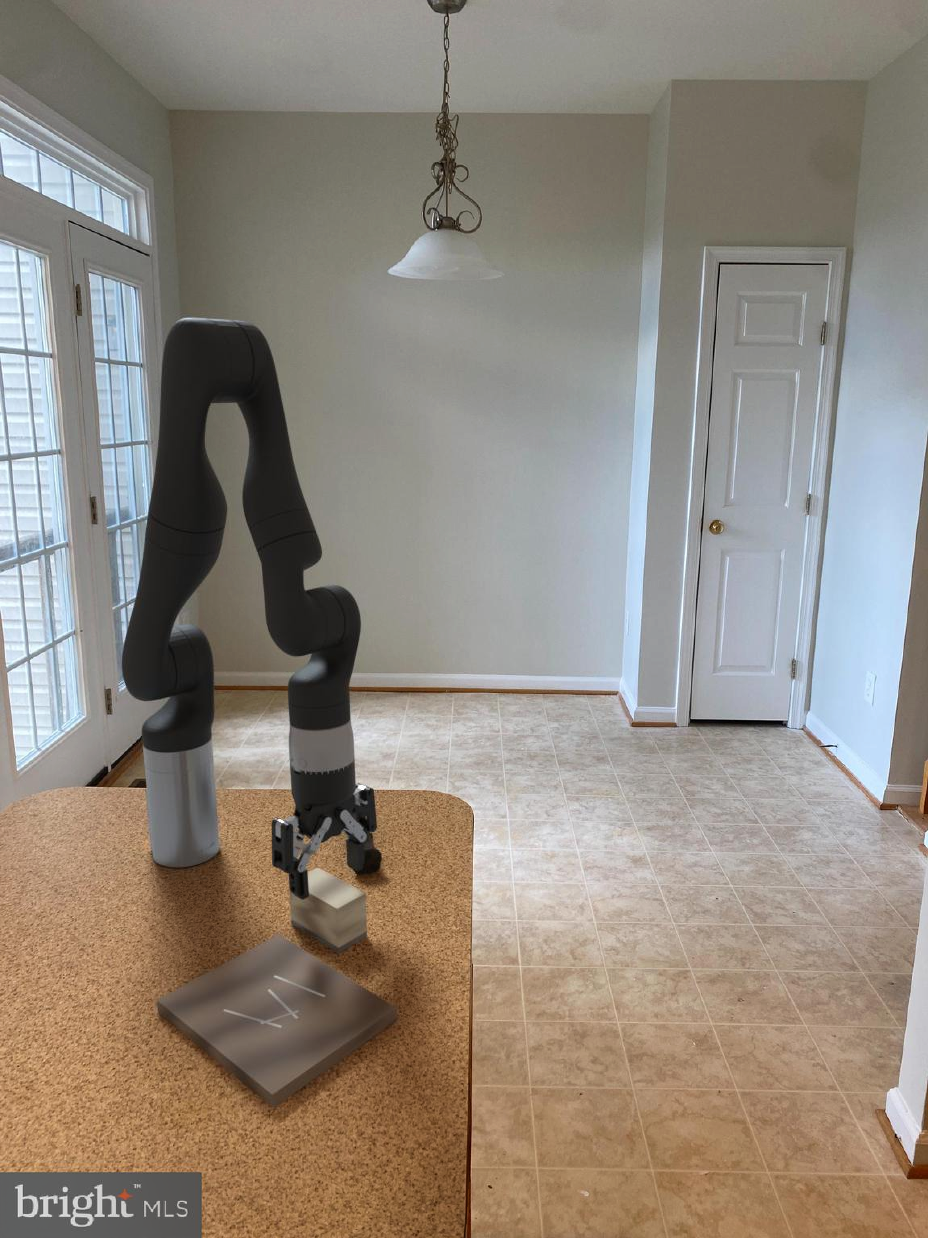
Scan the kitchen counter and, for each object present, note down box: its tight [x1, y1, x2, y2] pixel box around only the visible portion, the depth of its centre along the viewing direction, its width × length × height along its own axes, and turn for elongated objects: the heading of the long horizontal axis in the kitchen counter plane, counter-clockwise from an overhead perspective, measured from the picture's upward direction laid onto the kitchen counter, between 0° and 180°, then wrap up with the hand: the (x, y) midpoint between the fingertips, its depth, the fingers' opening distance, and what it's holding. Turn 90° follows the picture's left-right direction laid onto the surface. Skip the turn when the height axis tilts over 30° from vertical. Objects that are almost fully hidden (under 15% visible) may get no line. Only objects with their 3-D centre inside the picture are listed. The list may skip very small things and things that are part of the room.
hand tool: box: [347, 805, 383, 876], centre depth 131 cm, size 19×4×5 cm, turn 13°
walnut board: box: [156, 933, 398, 1109], centre depth 95 cm, size 20×16×2 cm
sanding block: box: [288, 867, 368, 954], centre depth 110 cm, size 9×4×6 cm, turn 49°
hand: (328, 882), depth 108 cm, fingers open, 8 cm apart
